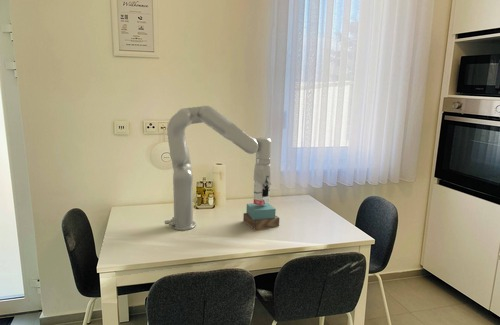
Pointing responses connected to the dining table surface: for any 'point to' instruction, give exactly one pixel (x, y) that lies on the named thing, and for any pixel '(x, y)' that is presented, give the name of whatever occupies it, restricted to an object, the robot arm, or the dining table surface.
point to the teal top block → (260, 211)
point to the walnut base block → (261, 222)
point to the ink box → (260, 194)
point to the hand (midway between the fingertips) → (261, 194)
